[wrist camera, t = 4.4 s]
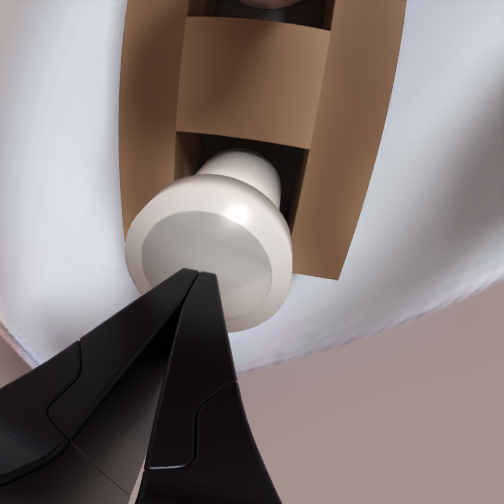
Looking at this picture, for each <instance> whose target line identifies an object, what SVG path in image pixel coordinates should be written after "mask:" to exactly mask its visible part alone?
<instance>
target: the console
mask: <svg viewBox="0 0 504 504" xmlns="http://www.w3.org/2000/svg"><path fill="white" fill-rule="evenodd" d="M406 1H407V0H327V2H326V9H325V15H324V22H323V28H322V29H317V28H312V27H307V26H301V25H295V24H289V23H282V22H274V21H266V20H256V19H245V18H230V17H215V12H216V5H217V0H128V3H127V10H126V18H125V26H124V35H123V45H122V57H121V72H120V91H119V167H120V188H121V204H122V216H123V227H124V237H125V242H126V237H127V233H128V230H129V228H130V226H131V223H132V222H133V220H134V219H135V217H136V216H137V215H138V214H139V213H140V211H141V210H142V209H143V208H144V207H145V206H146V205H147V204H148V203H149V202H150V201H151V200H152V199H153V198H154V197H155V196H156V194H157V193H158V192H159V191H160V190H162V189H163V188H164V187H166V186H167V185H168V184H170V183H172V182H174V181H176V180H178V179H181V178H184V177H187V176H192V175H195V174H196V173H197V172H198V171H199V166H200V152H201V139H202V133H204V134H213V135H222V136H230V137H237V138H245V139H252V140H258V141H265V142H271V143H277V144H283V145H289V146H294V147H300V148H302V150H301V155H300V160H299V166H298V171H297V176H296V181H295V186H294V191H293V196H292V201H291V206H290V211H289V216H288V220H286V219H285V221H286V223H287V225H288V227H289V230H290V234H291V238H292V273H297V274H303V275H309V276H315V277H321V278H327V279H333V280H338V279H339V276H340V273H341V270H342V267H343V264H344V262H345V259H346V256H347V253H348V250H349V247H350V244H351V241H352V238H353V235H354V232H355V229H356V225H357V222H358V219H359V216H360V213H361V209H362V206H363V203H364V199H365V196H366V193H367V189H368V186H369V182H370V179H371V175H372V171H373V168H374V164H375V160H376V156H377V153H378V149H379V145H380V141H381V137H382V133H383V129H384V124H385V120H386V116H387V111H388V107H389V102H390V97H391V93H392V88H393V83H394V78H395V73H396V67H397V62H398V56H399V50H400V44H401V38H402V31H403V24H404V17H405V9H406Z"/></svg>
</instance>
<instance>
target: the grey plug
mask: <svg viewBox="0 0 504 504" xmlns="http://www.w3.org/2000/svg"><path fill="white" fill-rule="evenodd" d="M280 198H281V182H280V178H279V175H278V173H277V171H276V169H275V167H274V166H273V165H272V163H271V162H270V161H269V160H268V159H266V158H265V157H264V156H262V155H261V154H259V153H257V152H255V151H253V150H250V149H245V148H230V149H225V150H222V151H220V152H218V153H216V154H215V155H213V156H212V157H211V158H209V159H208V160H207V162H206V163H205V164H204V165H203V166H202V167H201V168H200V170H199V171H198V172H197V173H196V174H195V175H192V176H187V177H184V178H181V179H178V180H176V181H174V182H172V183H170V184H168V185H167V186H166V187H164V188H163V189H162V190H160V191H159V192H158V193H157V194H156V196H155V197H154V198H153V199H152V200H151V201H150V202H149V203H148V204H147V205H146V206H145V207H144V208H143V209H142V210H141V211H140V213H139V214H138V215H137V216H136V217H135V219H134V220H133V222H132V223H131V226H130V228H129V230H128V233H127V237H126V242H125V259H126V264H127V268H128V271H129V274H130V276H131V278H132V280H133V282H134V284H135V286H136V287H137V289H138V290H139V292H140V293H141V294H142V295H143V294H145V293H146V292H148V291H149V290H151V289H152V288H154V287H155V286H157V285H158V284H160V283H161V282H163V281H164V280H166V279H167V278H169V277H170V276H172V275H173V274H175V273H176V272H178V271H179V270H180V269H182V268H189V269H194V270H198V271H199V273H200V272H201V271H205V272H210V273H215V274H216V275H217V279H218V284H219V290H220V295H221V300H222V306H223V311H224V316H225V322H226V327H227V332H228V333H229V332H237V331H242V330H246V329H249V328H252V327H255V326H257V325H259V324H261V323H263V322H265V321H266V320H268V319H269V318H270V317H272V316H273V315H274V314H275V313H276V312H277V311H278V310H279V309H280V307H281V306H282V305H283V303H284V301H285V300H286V298H287V296H288V293H289V290H290V287H291V281H292V238H291V234H290V230H289V227H288V225H287V223H286V221H285V218H284V216H283V215H282V214H281V212H280V211H279V209H280Z"/></svg>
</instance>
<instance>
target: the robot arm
mask: <svg viewBox="0 0 504 504" xmlns="http://www.w3.org/2000/svg"><path fill="white" fill-rule="evenodd" d="M146 453H147V455H146ZM145 456H146V460H145V465H144V470H145V471H144V472H143V476H142V480H141V484H140V489H139V492H138V496H137V499H136V502H135V504H282V502H281V500H280V498H279V496H278V494H277V492H276V490H275V487H274V485H273V483H272V480H271V478H270V476H269V474H268V471H267V469H266V467H265V465H264V462H263V460H262V457H261V455H260V453H259V450H258V448H257V445H256V443H255V440H254V438H253V435H252V432H251V429H250V426H249V423H248V421H247V417H246V414H245V410H244V406H243V402H242V398H241V394H240V389H239V385H238V383H237V376H236V371H235V367H234V362H233V357H232V352H231V347H230V342H229V337H228V332H227V327H226V322H225V316H224V311H223V306H222V300H221V295H220V290H219V284H218V279H217V275H216V274H215V273H210V272H205V271H201V272H200V273H199V271H198V270H194V269H189V268H182V269H180V270H179V271H178V272H176V273H175V274H173V275H172V276H170V277H169V278H167V279H166V280H164V281H163V282H161V283H160V284H158V285H157V286H155V287H154V288H152V289H151V290H149V291H148V292H146V293H145V294H143V295H142V296H141V297H139V298H138V299H136V300H135V301H133V302H132V303H130V304H129V305H127V306H126V307H124V308H123V309H122V310H120V311H119V312H117V313H116V314H114V315H113V316H111V317H110V318H109V319H107V320H106V321H104V322H103V323H101V324H100V325H98V326H97V327H96V328H94V329H93V330H91V331H90V332H88V333H87V334H86V335H84V336H83V337H81V338H80V341H79V340H77V341H75V342H74V343H73V344H71V345H70V346H68V347H67V348H66V349H64V350H63V351H61V352H60V353H58V354H57V355H55V356H54V357H52V358H51V359H49V360H48V361H46V362H45V363H43V364H41V365H40V366H38V367H36V368H35V369H33V370H31V371H30V372H28V373H26V374H24V375H23V376H21V377H19V378H18V379H16V380H14V381H12V382H10V383H9V384H7V385H5V386H3V387H2V388H0V504H128V502H129V500H130V495H131V494H132V491H133V488H134V486H135V483H136V480H137V477H138V475H139V472H140V469H141V467H142V464H143V461H144V459H145Z"/></svg>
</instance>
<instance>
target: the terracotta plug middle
mask: <svg viewBox="0 0 504 504" xmlns="http://www.w3.org/2000/svg"><path fill="white" fill-rule="evenodd" d="M238 1H240V2H242V3H244V4H246V5H249V6H252V7H256V8H261V9H277V8H283V7H287V6H290V5H293V4H295V3H297V2H299V1H300V0H238Z"/></svg>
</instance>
